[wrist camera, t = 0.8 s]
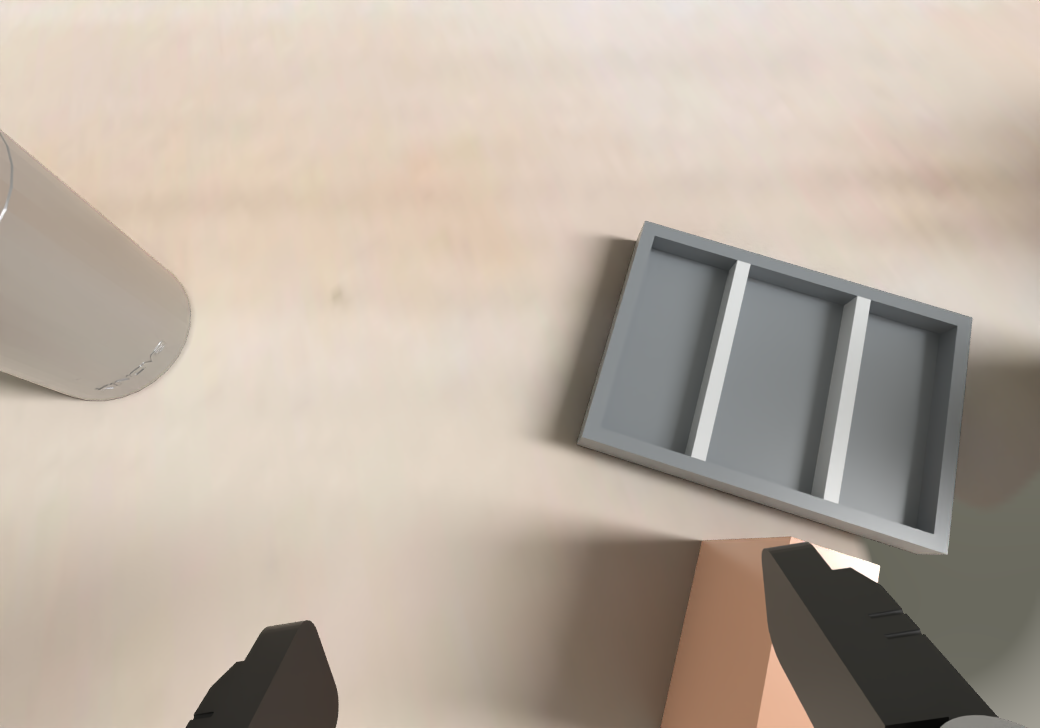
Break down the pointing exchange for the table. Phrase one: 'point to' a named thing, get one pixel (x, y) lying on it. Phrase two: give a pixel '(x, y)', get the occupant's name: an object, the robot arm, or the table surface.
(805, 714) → the tan brick
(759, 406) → the tray
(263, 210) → the table surface
